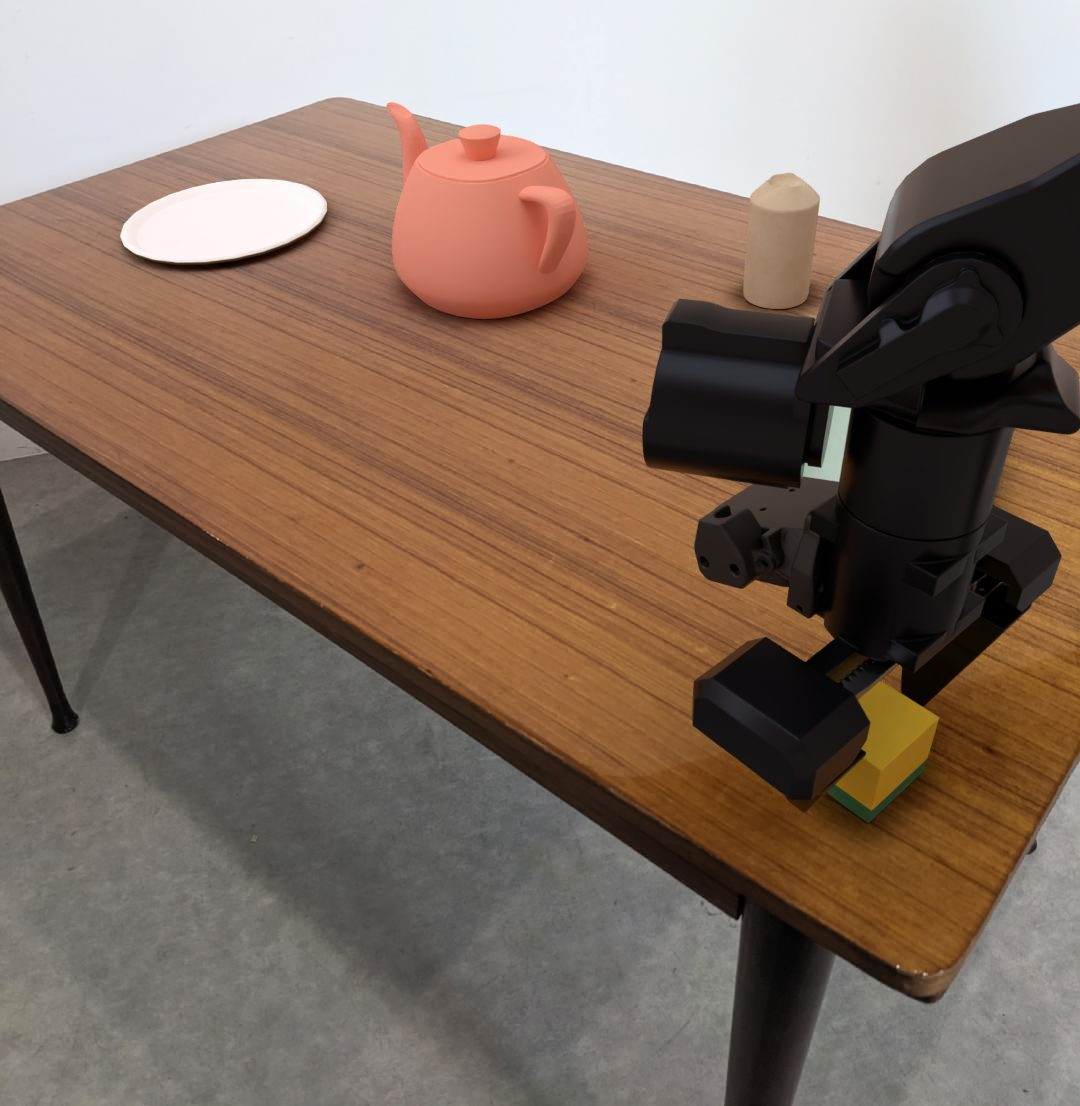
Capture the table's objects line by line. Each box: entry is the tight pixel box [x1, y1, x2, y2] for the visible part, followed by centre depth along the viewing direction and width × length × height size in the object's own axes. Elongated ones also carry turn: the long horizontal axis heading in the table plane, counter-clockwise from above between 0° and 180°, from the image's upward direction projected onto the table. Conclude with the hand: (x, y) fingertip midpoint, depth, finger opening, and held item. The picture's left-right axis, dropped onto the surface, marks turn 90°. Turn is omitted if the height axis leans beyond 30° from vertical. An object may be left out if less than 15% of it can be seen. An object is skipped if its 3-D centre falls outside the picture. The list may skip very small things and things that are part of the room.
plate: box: [119, 178, 328, 266], centre depth 107 cm, size 21×21×1 cm
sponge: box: [826, 680, 940, 824], centre depth 50 cm, size 5×4×4 cm
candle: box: [742, 172, 821, 310], centre depth 87 cm, size 6×6×10 cm
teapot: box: [386, 101, 590, 320], centre depth 91 cm, size 25×17×13 cm
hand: (857, 752), depth 51 cm, fingers open, 9 cm apart
